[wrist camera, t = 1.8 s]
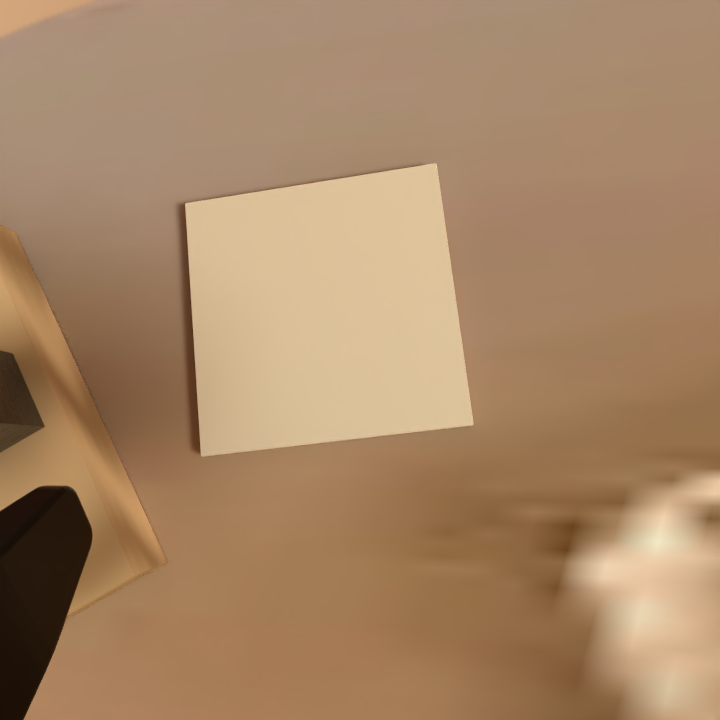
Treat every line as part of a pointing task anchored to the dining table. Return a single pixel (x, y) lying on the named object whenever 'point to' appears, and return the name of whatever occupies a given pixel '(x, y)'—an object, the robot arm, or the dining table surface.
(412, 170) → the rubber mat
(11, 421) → the lever cap
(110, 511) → the plane body
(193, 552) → the dining table surface
